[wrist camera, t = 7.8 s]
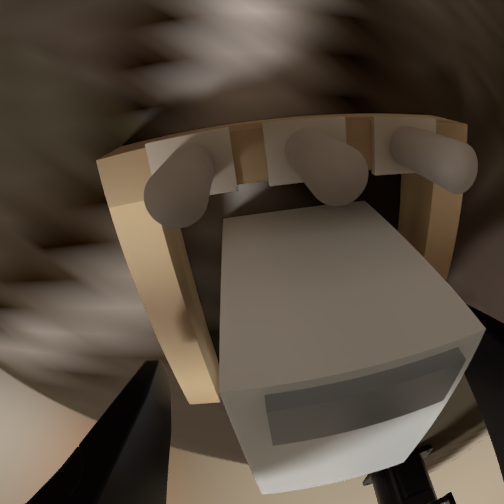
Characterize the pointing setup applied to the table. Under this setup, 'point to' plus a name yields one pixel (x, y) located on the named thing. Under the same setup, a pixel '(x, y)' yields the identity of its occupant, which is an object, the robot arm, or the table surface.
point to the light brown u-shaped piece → (277, 173)
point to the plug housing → (333, 343)
